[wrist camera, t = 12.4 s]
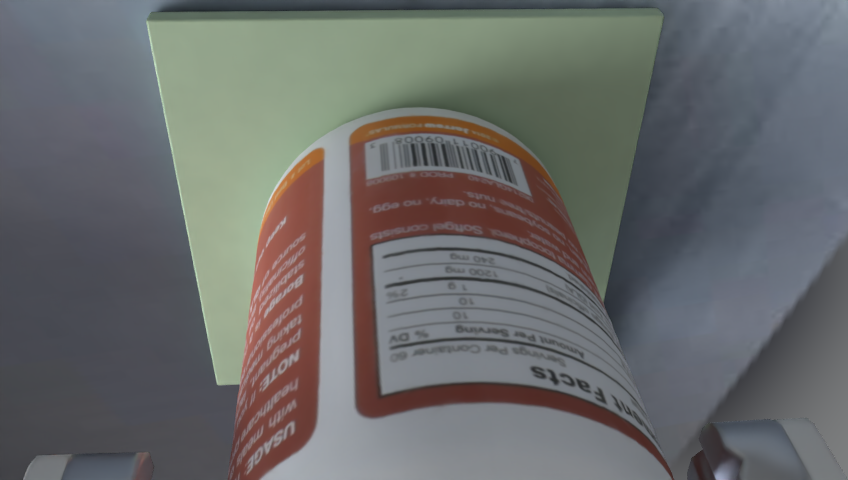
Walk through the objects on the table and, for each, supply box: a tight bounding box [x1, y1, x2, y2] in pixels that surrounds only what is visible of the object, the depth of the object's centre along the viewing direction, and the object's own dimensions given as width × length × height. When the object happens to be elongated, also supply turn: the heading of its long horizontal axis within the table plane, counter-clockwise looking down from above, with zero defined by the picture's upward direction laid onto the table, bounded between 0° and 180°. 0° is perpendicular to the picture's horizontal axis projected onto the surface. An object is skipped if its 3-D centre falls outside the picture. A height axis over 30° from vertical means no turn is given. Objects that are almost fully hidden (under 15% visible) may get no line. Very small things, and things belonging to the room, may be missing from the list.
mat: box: [146, 8, 664, 385], centre depth 17 cm, size 9×9×1 cm
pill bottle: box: [228, 107, 674, 480], centre depth 12 cm, size 6×6×11 cm
